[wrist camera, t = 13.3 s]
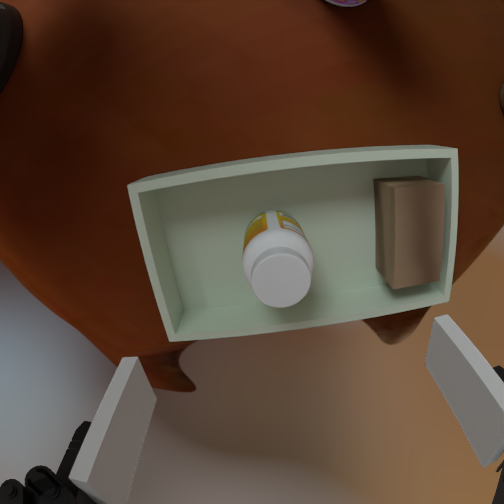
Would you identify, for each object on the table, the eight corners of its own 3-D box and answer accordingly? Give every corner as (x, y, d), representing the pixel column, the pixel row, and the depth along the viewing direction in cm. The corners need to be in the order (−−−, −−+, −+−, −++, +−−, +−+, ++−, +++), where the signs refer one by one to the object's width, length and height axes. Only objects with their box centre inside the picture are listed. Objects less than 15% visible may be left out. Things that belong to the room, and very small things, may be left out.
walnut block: (375, 267, 31) (393, 289, 26) (373, 178, 28) (394, 188, 23) (417, 260, 31) (439, 280, 26) (418, 175, 27) (444, 184, 23)
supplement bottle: (248, 266, 31) (245, 321, 22) (240, 212, 29) (234, 248, 20) (303, 260, 31) (322, 312, 22) (299, 205, 29) (320, 238, 20)
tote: (179, 314, 34) (169, 341, 29) (146, 176, 29) (127, 185, 24) (428, 280, 32) (449, 301, 27) (430, 144, 27) (457, 148, 22)
